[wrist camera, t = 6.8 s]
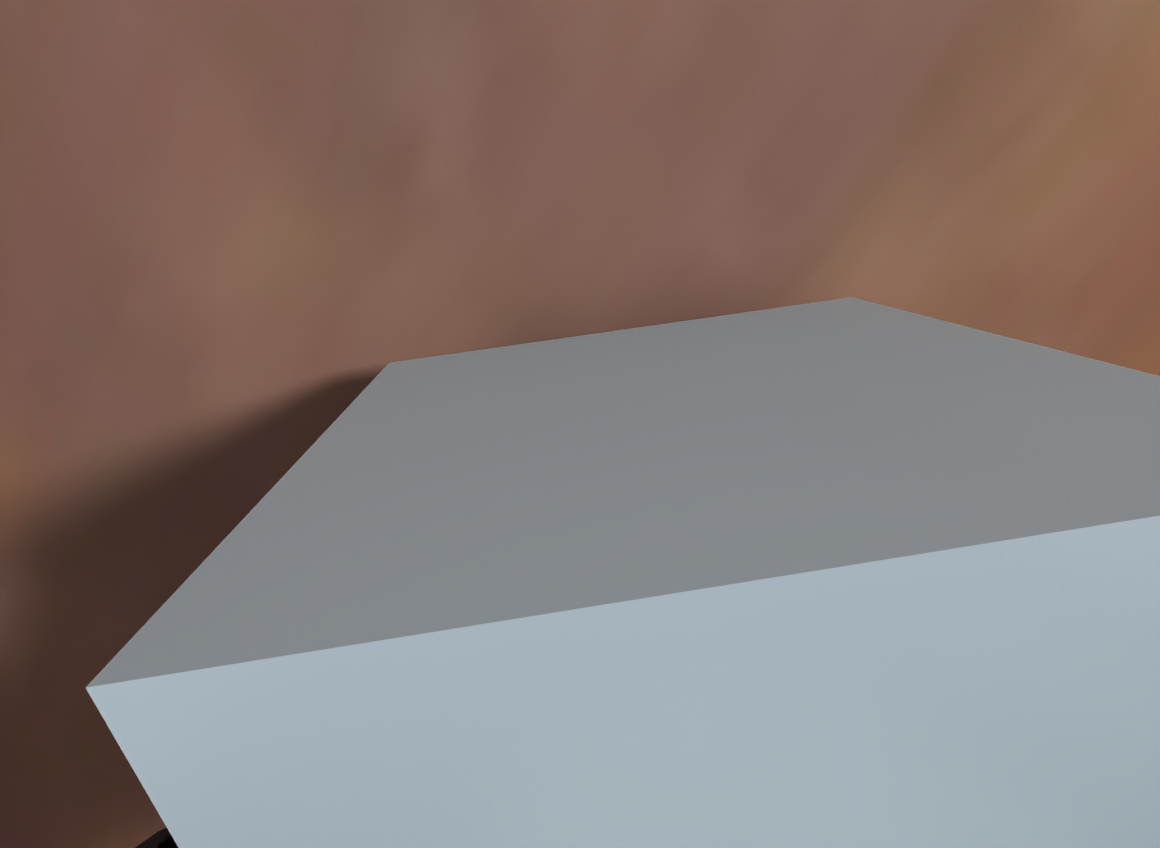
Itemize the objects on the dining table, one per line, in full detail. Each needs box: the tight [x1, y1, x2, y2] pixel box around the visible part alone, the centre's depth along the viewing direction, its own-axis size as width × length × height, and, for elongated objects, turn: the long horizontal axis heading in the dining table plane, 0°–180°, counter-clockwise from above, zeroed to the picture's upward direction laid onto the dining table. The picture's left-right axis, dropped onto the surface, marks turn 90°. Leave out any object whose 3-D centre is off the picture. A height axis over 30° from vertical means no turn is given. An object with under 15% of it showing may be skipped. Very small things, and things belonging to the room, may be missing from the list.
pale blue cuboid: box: [86, 297, 1160, 848], centre depth 10 cm, size 10×10×9 cm
